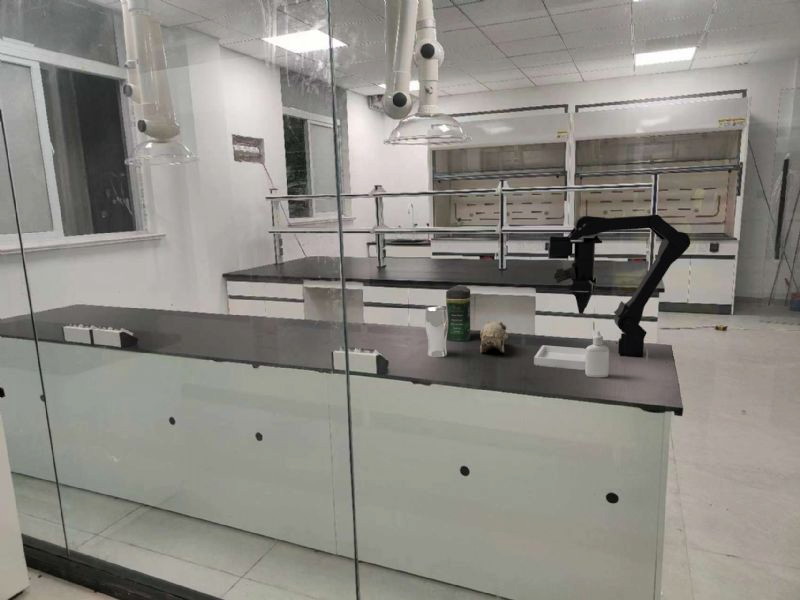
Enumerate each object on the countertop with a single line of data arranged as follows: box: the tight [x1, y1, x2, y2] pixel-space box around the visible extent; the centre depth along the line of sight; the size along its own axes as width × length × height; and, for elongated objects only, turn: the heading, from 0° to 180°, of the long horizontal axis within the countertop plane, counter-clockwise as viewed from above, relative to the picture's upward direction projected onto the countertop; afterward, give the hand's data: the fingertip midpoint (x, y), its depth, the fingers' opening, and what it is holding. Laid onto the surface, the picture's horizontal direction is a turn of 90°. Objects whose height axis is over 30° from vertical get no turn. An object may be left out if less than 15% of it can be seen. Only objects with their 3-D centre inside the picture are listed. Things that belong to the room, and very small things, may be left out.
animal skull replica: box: [479, 320, 509, 355], centre depth 167 cm, size 8×17×10 cm, turn 159°
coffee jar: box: [445, 285, 471, 343], centre depth 182 cm, size 10×8×19 cm
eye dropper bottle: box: [584, 330, 610, 379], centre depth 141 cm, size 4×6×12 cm
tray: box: [533, 344, 586, 371], centre depth 156 cm, size 14×14×2 cm
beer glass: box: [424, 305, 448, 358], centre depth 163 cm, size 7×7×15 cm
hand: (582, 310), depth 162 cm, fingers open, 9 cm apart
